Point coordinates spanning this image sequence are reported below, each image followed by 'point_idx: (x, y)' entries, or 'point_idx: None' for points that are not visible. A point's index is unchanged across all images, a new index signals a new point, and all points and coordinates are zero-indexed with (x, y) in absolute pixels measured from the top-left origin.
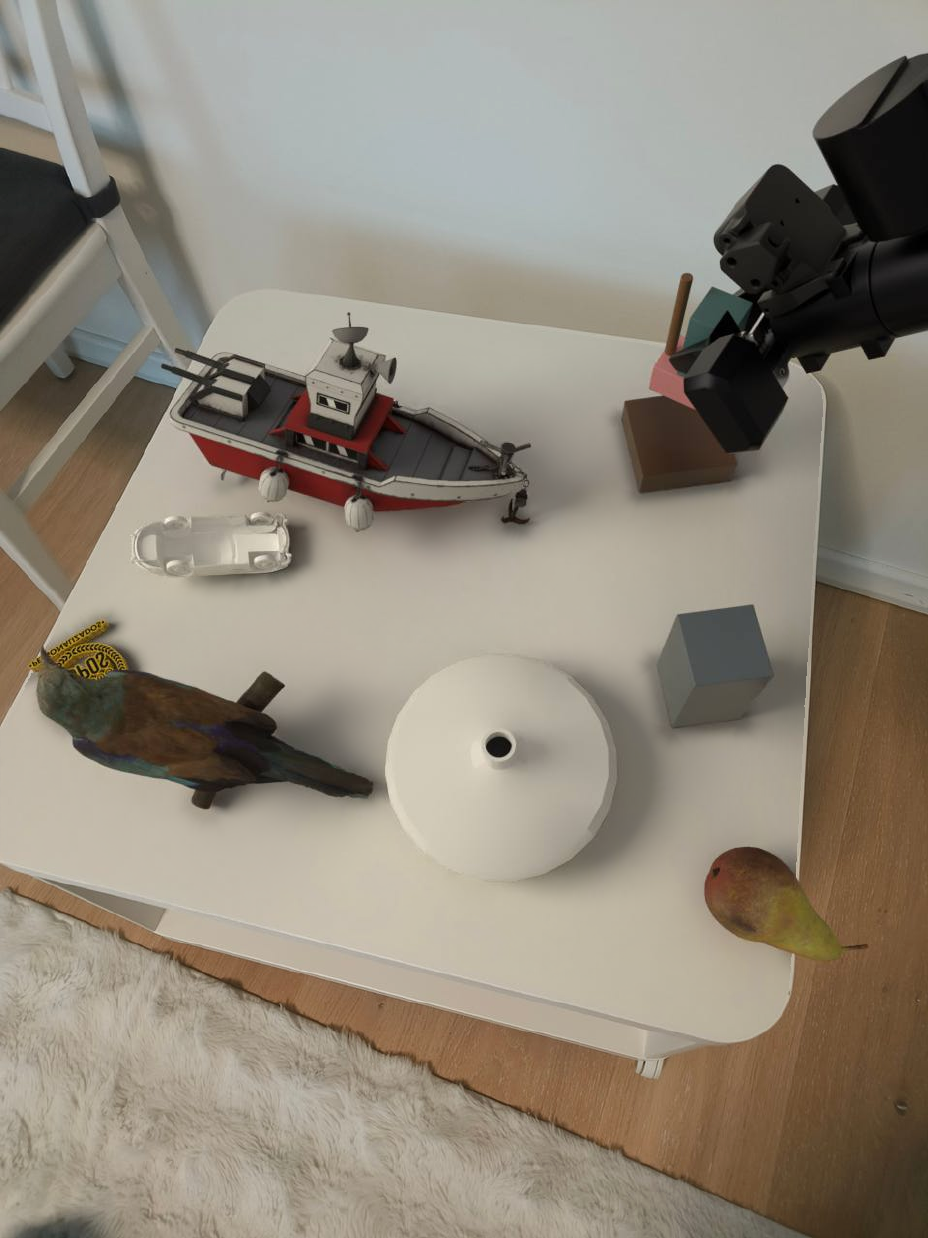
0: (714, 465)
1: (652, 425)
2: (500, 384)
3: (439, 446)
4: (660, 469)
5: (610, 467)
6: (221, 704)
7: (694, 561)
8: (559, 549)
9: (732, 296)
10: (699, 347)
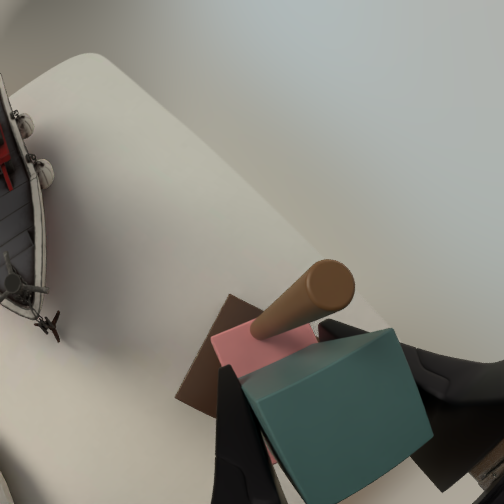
0: None
1: None
2: (155, 185)
3: (19, 220)
4: (198, 403)
5: (174, 345)
6: None
7: (177, 484)
8: (71, 385)
9: (412, 393)
10: (227, 472)
